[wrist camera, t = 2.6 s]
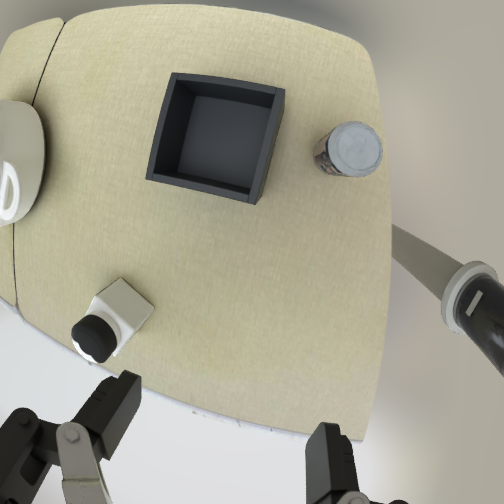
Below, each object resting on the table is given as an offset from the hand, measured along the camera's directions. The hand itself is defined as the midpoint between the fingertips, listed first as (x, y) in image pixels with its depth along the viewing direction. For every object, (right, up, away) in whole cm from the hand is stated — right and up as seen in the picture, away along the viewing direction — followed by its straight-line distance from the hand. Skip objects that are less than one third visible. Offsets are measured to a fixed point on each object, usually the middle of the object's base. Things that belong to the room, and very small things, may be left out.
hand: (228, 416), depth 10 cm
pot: (-42, +24, +25) cm, 54 cm away
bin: (-2, +20, +22) cm, 30 cm away
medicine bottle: (-18, -1, +30) cm, 35 cm away
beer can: (+11, +18, +21) cm, 30 cm away
